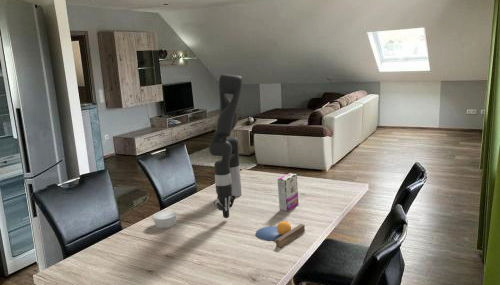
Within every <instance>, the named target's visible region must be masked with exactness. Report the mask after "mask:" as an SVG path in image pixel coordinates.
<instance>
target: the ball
mask: <svg viewBox="0 0 500 285" xmlns="http://www.w3.org/2000/svg"><path fill="white" fill-rule="evenodd" d="M290 230H292V226H291V224H290V222H288V221H284V220H283V221H280V222H278V224H277V231H278V233H279V234H280V235H284V234H286V233H287V232H289V231H290Z"/></svg>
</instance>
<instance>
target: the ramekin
mask: <svg viewBox="0 0 500 285" xmlns="http://www.w3.org/2000/svg"><path fill="white" fill-rule="evenodd" d="M152 219H153V223H154V225H155V227H156V228H157V229H168V228H169V229H170V228H171V227H174V226H175V224H176V223H177V212H176V211H174V210H170V209H167V210H161V211H158V212H155V213H154V214H152Z"/></svg>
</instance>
